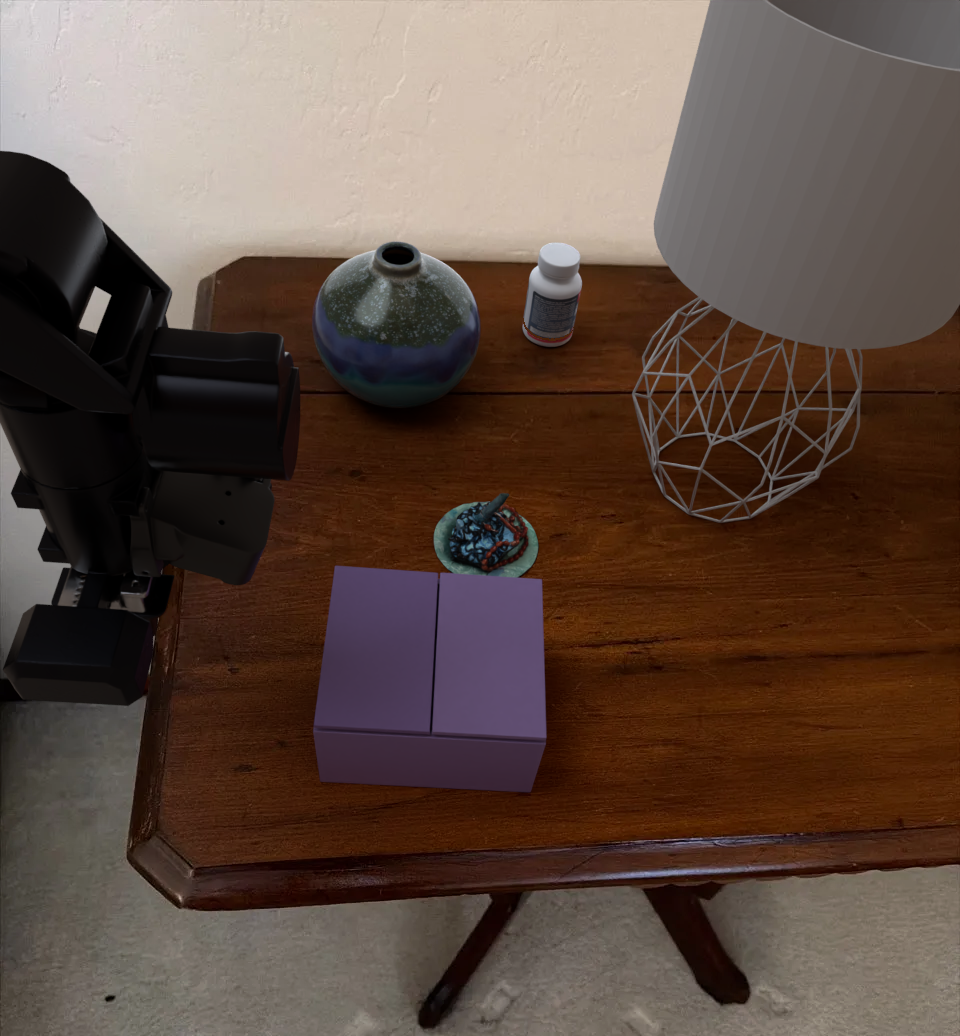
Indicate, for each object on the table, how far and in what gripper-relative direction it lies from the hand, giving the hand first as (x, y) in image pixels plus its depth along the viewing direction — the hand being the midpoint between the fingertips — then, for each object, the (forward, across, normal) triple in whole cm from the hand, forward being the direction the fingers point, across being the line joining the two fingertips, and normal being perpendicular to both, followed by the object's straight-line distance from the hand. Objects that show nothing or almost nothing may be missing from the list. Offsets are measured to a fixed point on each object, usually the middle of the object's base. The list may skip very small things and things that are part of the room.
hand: (147, 631), depth 56 cm
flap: (+4, +2, -14) cm, 15 cm away
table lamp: (+12, +29, -43) cm, 53 cm away
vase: (+12, +39, -13) cm, 43 cm away
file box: (+12, +2, -18) cm, 21 cm away
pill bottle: (+12, +48, -28) cm, 57 cm away
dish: (+12, +19, -22) cm, 31 cm away
